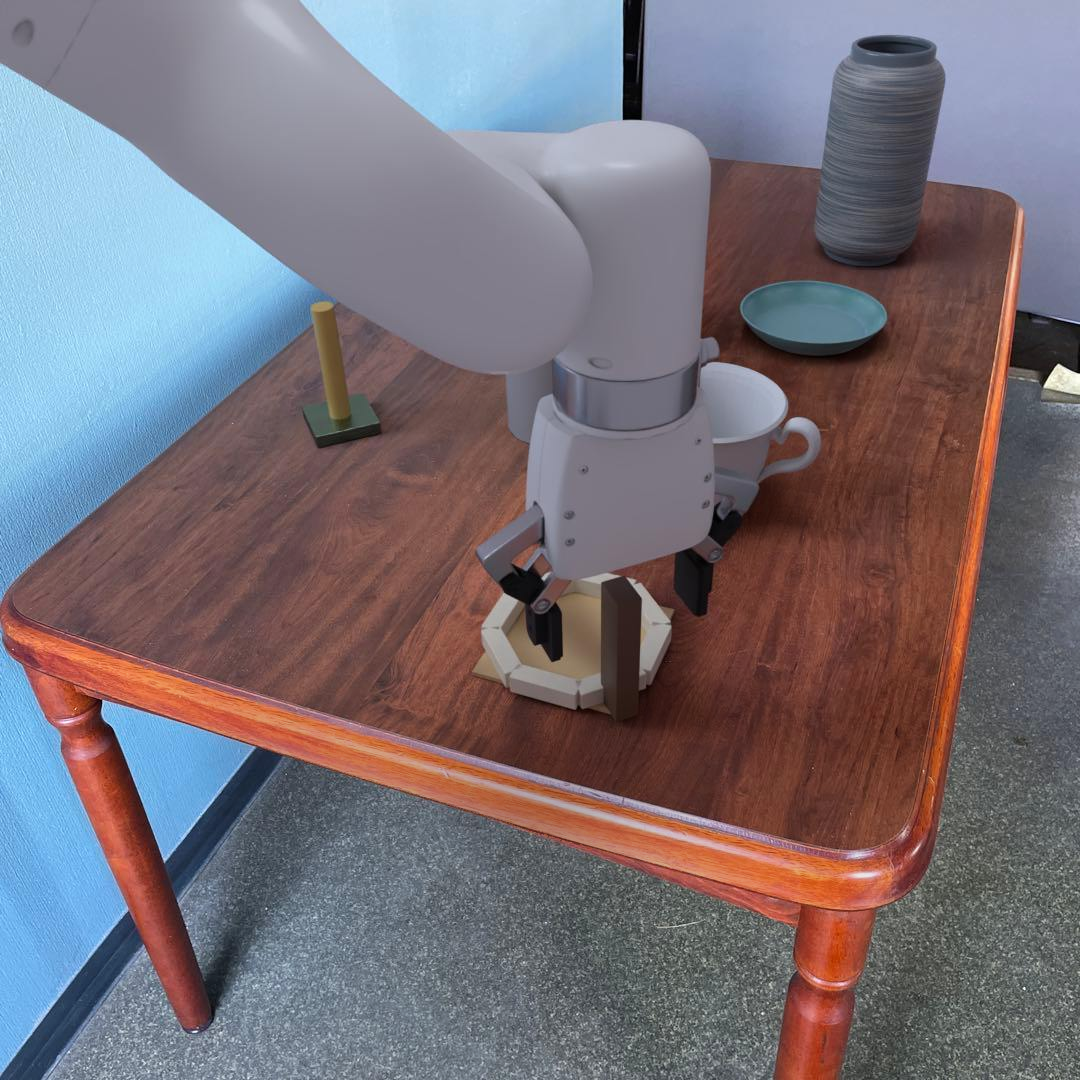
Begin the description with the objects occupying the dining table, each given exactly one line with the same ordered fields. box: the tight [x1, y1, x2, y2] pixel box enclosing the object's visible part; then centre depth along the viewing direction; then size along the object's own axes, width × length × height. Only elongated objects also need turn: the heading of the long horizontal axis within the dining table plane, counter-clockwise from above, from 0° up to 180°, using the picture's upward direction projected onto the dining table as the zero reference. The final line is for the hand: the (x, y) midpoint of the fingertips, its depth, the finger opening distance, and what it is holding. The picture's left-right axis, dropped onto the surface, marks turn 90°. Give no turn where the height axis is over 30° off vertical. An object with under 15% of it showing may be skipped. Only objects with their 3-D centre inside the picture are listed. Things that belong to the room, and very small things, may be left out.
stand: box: [301, 300, 382, 449], centre depth 96 cm, size 6×6×12 cm
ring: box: [480, 571, 673, 723], centre depth 72 cm, size 14×12×10 cm
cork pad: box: [471, 592, 676, 715], centre depth 76 cm, size 11×11×1 cm
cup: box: [505, 360, 553, 445], centre depth 96 cm, size 8×8×10 cm
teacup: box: [700, 361, 822, 506], centre depth 85 cm, size 12×15×10 cm
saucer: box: [739, 280, 888, 357], centre depth 111 cm, size 15×15×3 cm
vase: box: [813, 34, 946, 267], centre depth 120 cm, size 12×12×23 cm
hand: (620, 624), depth 66 cm, fingers open, 9 cm apart
